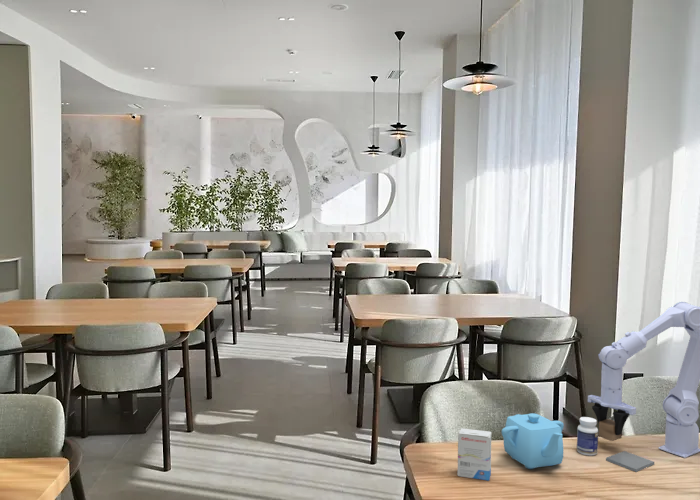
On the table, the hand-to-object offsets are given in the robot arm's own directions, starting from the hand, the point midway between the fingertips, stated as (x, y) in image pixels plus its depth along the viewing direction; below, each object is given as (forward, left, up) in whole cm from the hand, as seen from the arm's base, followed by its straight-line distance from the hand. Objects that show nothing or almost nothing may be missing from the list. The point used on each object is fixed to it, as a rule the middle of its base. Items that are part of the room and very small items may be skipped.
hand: (610, 431), depth 177 cm
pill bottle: (+8, -2, -5) cm, 10 cm away
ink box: (+47, -9, -6) cm, 48 cm away
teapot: (+27, -5, -6) cm, 28 cm away
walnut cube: (0, 0, -2) cm, 2 cm away
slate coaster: (+4, +9, -5) cm, 11 cm away
